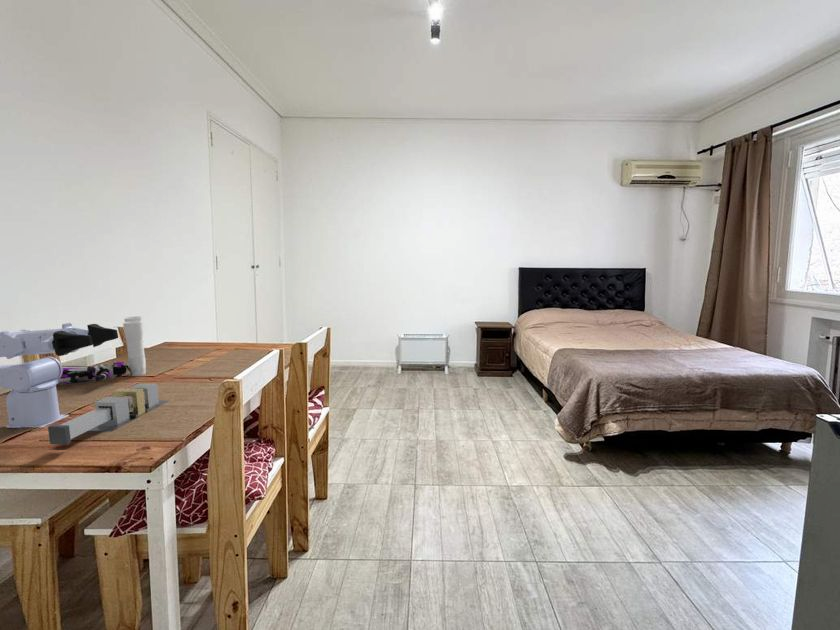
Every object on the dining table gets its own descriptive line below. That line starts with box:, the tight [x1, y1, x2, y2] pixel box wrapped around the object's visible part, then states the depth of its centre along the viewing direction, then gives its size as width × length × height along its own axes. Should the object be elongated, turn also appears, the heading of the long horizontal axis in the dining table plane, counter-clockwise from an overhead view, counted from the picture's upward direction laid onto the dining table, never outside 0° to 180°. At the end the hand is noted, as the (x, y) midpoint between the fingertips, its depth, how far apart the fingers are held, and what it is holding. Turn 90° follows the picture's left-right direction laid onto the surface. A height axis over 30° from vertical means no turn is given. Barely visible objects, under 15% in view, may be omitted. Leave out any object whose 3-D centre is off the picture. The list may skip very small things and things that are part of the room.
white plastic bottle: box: [122, 315, 147, 377], centre depth 156 cm, size 17×5×18 cm, turn 31°
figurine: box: [56, 361, 132, 386], centre depth 143 cm, size 24×7×29 cm
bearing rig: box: [87, 382, 169, 432], centre depth 113 cm, size 7×21×6 cm, turn 175°
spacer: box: [111, 387, 145, 417], centre depth 113 cm, size 6×2×6 cm, turn 85°
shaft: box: [47, 398, 130, 446], centre depth 102 cm, size 4×19×4 cm, turn 175°
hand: (104, 337), depth 105 cm, fingers open, 7 cm apart
